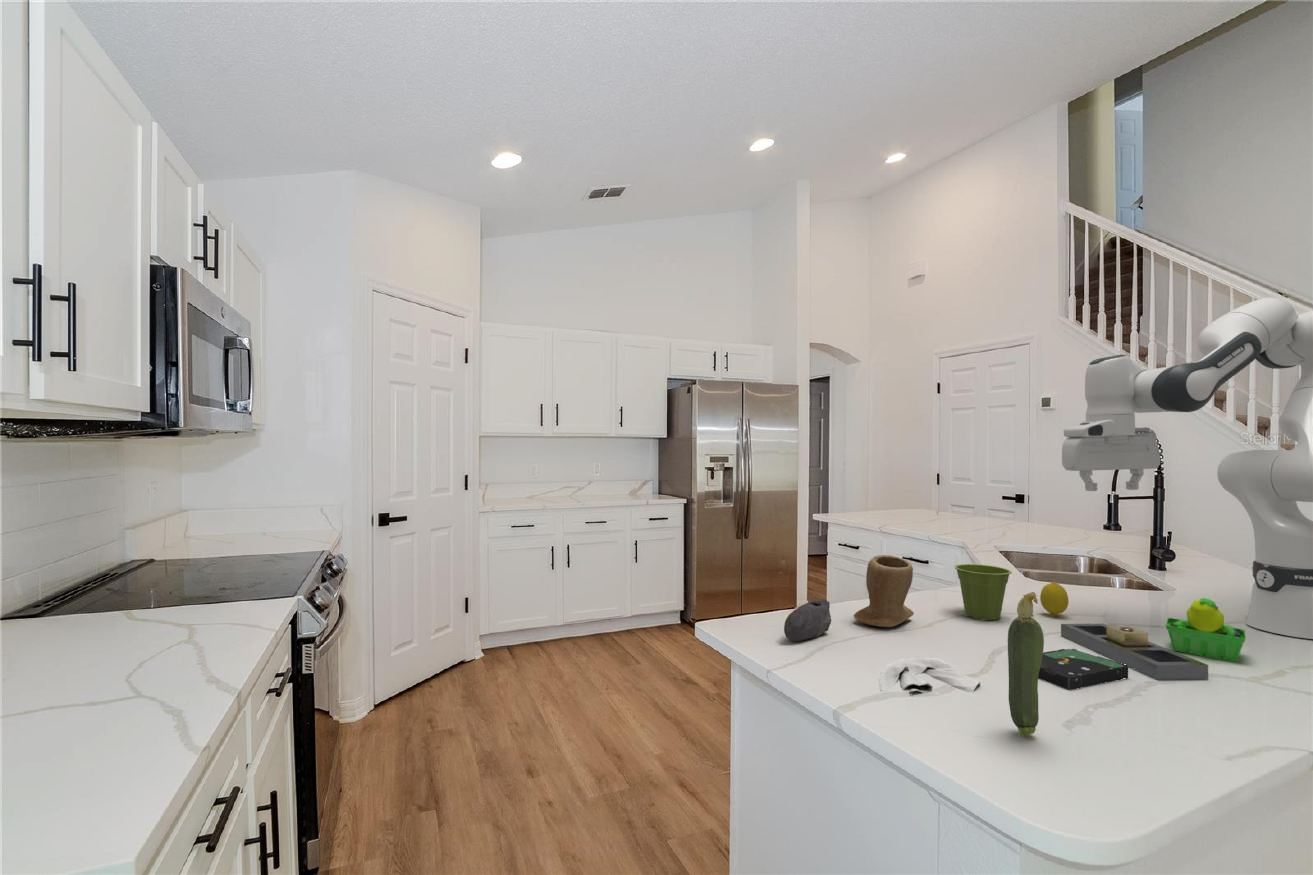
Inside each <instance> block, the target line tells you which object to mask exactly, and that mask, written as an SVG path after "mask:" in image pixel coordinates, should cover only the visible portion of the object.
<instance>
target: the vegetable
mask: <svg viewBox="0 0 1313 875" xmlns="http://www.w3.org/2000/svg"><path fill="white" fill-rule="evenodd" d="M1022 596H1023V597H1022V598H1020V600H1019V602H1018V603H1017V608H1016V613H1017V615H1018V616H1017V617H1015V618H1014V619H1013V620H1012V621H1011V623H1010V625H1009V627H1008V631H1007V661H1008V663H1007V664H1008V665H1007V666H1008V706H1009V711H1010V717H1011V721H1012V722H1013V724H1014V725H1015V726H1016V728H1017V730H1018V732H1019V733H1020V735H1021V736H1022V737H1023V738H1024V737H1026V736H1028V735H1032V734H1035V732H1036V730H1037V726H1038V725H1039V716H1040V715H1039V690H1038V688H1039V687H1038V686H1039V685H1038V684H1039V678H1038V675H1039V670H1040V667H1041V663H1042V656H1043V653H1044V646H1045V641H1044V640H1045V637H1044V633H1043V629H1042V627H1041V624H1040V623H1039V622H1038V621H1037V620H1036V619H1035V618H1033V617H1035V616H1034V603H1035V604H1038V599H1037V597H1038V595H1037V594H1036V592H1034V591H1031V592H1028V593H1026V594H1023V595H1022ZM1033 602H1034V603H1033Z"/></svg>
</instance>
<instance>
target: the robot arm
mask: <svg viewBox="0 0 1313 875" xmlns="http://www.w3.org/2000/svg"><path fill="white" fill-rule="evenodd" d="M1197 344H1198V345H1197V346H1198V349H1199V351H1200V354H1201V355H1202V356H1203V358H1200V360H1198V361H1195V362H1187V363H1186V362H1185V363H1181V364H1176V365H1171V366H1164V367H1158V368H1157V367H1156V368H1148V367H1145V366H1142V365H1140V364H1138V363H1136V362H1134V361H1133V360H1132V359H1131V358H1130V356H1129V355H1127V354H1115V355H1111V356H1105V357H1101V358H1096V359H1094V360H1092V361H1090V362H1089V363H1088V365H1087V367H1086V370H1085V371H1086V372H1085V376H1084V377H1085V378H1084V398H1085V401H1086V404H1087V406H1086V412H1085V420H1084V421H1081V422H1079V423H1076V424H1075V423H1074V424H1073V425H1070V426H1068V427H1065V428H1064V429H1063V436H1064V437H1065V440H1063V443H1062V447H1061V448H1062V449H1061V464H1062V467H1063V468H1064V470H1066V471H1070V472H1079V477H1080V478H1081V480H1082V481H1083V483H1084V489H1085V491H1086V492H1096V491H1098V482H1094V481H1093V479H1092V476H1093V471H1116V470H1117V471H1119V470H1120V471H1121V470H1129V474H1131V476H1130V479H1129V481H1125V488H1126V490H1127V491H1129V490H1130V491H1133V490H1134V491H1137V490H1139V486H1140V485H1139V482H1140V481H1141V479H1142V478H1143V476H1144V470H1149V469H1150V470H1151V469H1158V468H1159V466H1160V465H1161V454H1160V449H1159V445H1158V441H1157V433H1156V432H1155V430H1153V429H1151V428H1150V427H1146V426H1145V427H1136V418H1135V414H1136V413H1139V414H1142V413H1143V414H1144V413H1145V414H1146V413H1147V414H1148V413H1165V412H1167V413H1168V412H1170V413H1172V412H1174V413H1192V412H1195V411H1198V410H1200V409H1202V408H1204V407H1205V406H1206V405H1207V404H1208V403H1209V402H1210V400H1211V399H1212V397H1214V395H1215V394H1216V392H1217V391H1218V390H1219V388H1220V387H1221V386H1223V384H1225V383H1226V382H1228V381H1229V380H1231V379H1232V378H1233V377H1234V376H1236V375H1238V373H1240V372H1241V371H1242V370H1243V369H1245V368H1246V367H1248V366H1249V365H1250V364H1252V363H1253V362H1254V361H1255V360H1256V361H1257V362H1258V363H1259V364H1260V365H1263V366H1264V367H1266V368H1267V369H1268V368H1269V369H1275V370H1277V369H1278V370H1279V369H1281V370H1283V369H1290V368H1294V367H1296V366H1300V369H1301V370H1300V376H1299V379H1298V381H1297V383H1296V384H1295V386H1294V388H1293V390H1292V392H1291V394H1290V396H1289V398H1288V400H1287V402H1286V404H1285V406H1284V408H1283V411H1282V413H1281V414H1280V417H1279V418H1278V426H1279V429H1280V430H1281V432H1282V433H1283V434H1284V435H1285V436H1286V437H1287V438H1289V439H1291V440H1292V441H1294V442H1297V443H1296V445H1295V447H1293V448H1292V449H1287V450H1286V449H1275V450H1274V449H1252V450H1251V449H1250V450H1245V451H1238V452H1233V453H1230V454H1227V455H1226V456H1224V457H1223V459H1222V460H1221V461H1220V463H1219V464H1218V467H1217V472H1216V473H1217V475H1216V476H1217V480H1218V482H1219V483H1220V485H1221V486H1222V488H1223V489H1224V490H1225V491H1226V492H1228V493H1230V494H1231V496H1233V497H1235V499H1237V500H1238V502H1240V504H1241V506H1243V508H1244V510H1245V511H1246V513H1247V515H1248V517H1249V519H1250V521H1251V524H1252V528H1253V537H1254V549H1255V550H1254V551H1255V553H1254V554H1255V556H1254V557H1255V559H1254V561H1252V567H1251V570H1252V577H1253V578H1254V583H1253V585H1252V589H1251V596H1250V601H1249V602H1250V603H1249V609H1248V610H1249V611H1248V612H1247V613H1246V616H1245V618H1246V621H1245V624H1246V625H1248V626H1250V627H1252V628H1255V629H1258V630H1262V631H1263V632H1264V631H1265V632H1269V633H1273V634H1278V635H1283V636H1288V637H1293V638H1300V639H1301V638H1302V639H1310V640H1313V520H1311V519H1310V518H1307V517H1306V516H1305V515H1304V514H1303V512H1302V511H1301V509H1300V508H1299V507H1298V504H1297V502H1305V503H1313V309H1311V310H1308V311H1305V312H1301V313H1297V311H1296V309H1295V307H1293V306H1292V304H1290V303H1289V302H1288V301H1287V300H1284V299H1282V298H1277V297H1263V298H1262V297H1261V298H1259V299H1256V300H1252V301H1250V302H1248V303H1245V304H1242V305H1241V306H1237V307H1236V308H1234V309H1232V310H1231V311H1229V312H1227V313H1225V314H1223V315H1221V316H1219V317H1218V318H1217V319H1215V320H1214V321H1211V322H1210V323H1209V324H1207V326H1205V327H1204V329H1202V330H1201V332H1200V333H1199V334H1198V339H1197Z"/></svg>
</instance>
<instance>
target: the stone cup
mask: <svg viewBox="0 0 1313 875" xmlns="http://www.w3.org/2000/svg"><path fill="white" fill-rule="evenodd" d="M865 576H866V579H865V580H866V581H865V582H866V583H865V584H866V589H867V593H868V598H869V603H868V604H869V605H867V606H866V607H863V608H861V609H858V611H856V612H855V613H854V614H853V618H854V619H855V620H857V621H858V622H861V623H863V624H865V625H870V626H874V627H875V626H876V627H881V628H891V627H896V626H897V625H900V624H902V623H903V622H905V621H907V620H908V619H910V618H911V617H913V616H914V614H915V612H914V611H913V610H912V609H911V608H909V607H908V606H906V605H905V601H906V598H907V596H908V593H909V590H910V588H911V585H912V582H913V576H914V568H913V564H911V562H910V561H908V560H906V559H905V558H903V557H898V556H895V555H890V554H881V555H876V556H873V557H872V558H871V559H870V560H869V562H868V564H867V567H866V574H865Z"/></svg>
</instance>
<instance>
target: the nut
mask: <svg viewBox="0 0 1313 875" xmlns="http://www.w3.org/2000/svg"><path fill="white" fill-rule="evenodd" d="M1106 632H1107V641H1110V642H1112V643H1114V644H1117V645H1119V646H1121V647H1124V648H1142V647H1148V641H1149V633H1148V632H1146V631H1143V630H1141V629H1138V628H1135V627H1133V626H1130V625H1111V626H1110V625H1108V626H1106Z"/></svg>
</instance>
